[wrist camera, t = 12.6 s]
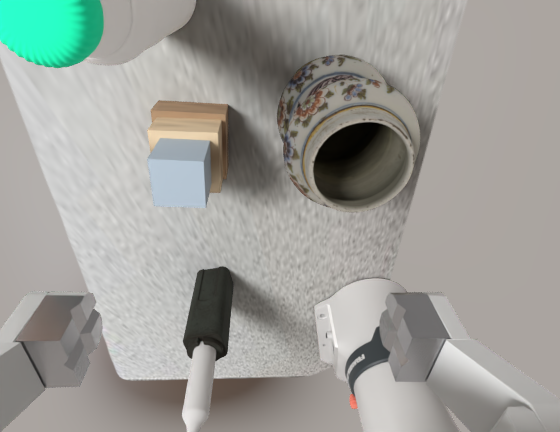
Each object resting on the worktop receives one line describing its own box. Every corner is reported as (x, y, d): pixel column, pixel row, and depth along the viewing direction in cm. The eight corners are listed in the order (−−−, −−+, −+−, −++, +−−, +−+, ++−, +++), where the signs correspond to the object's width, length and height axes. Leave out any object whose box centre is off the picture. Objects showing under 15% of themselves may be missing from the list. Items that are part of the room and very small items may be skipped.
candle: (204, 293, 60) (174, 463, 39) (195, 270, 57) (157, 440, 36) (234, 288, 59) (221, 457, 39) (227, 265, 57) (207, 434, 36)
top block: (223, 176, 44) (220, 192, 41) (164, 174, 44) (156, 191, 40) (221, 119, 40) (217, 132, 37) (156, 117, 40) (147, 130, 36)
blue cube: (211, 183, 40) (205, 207, 36) (165, 181, 40) (153, 206, 35) (209, 140, 37) (203, 161, 33) (160, 137, 37) (147, 159, 33)
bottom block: (228, 164, 48) (226, 179, 44) (166, 162, 47) (158, 176, 44) (228, 103, 43) (225, 114, 40) (159, 99, 43) (150, 110, 39)
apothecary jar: (314, 166, 48) (339, 253, 33) (254, 94, 42) (250, 159, 27) (395, 107, 44) (464, 176, 29) (340, 20, 39) (390, 49, 24)
